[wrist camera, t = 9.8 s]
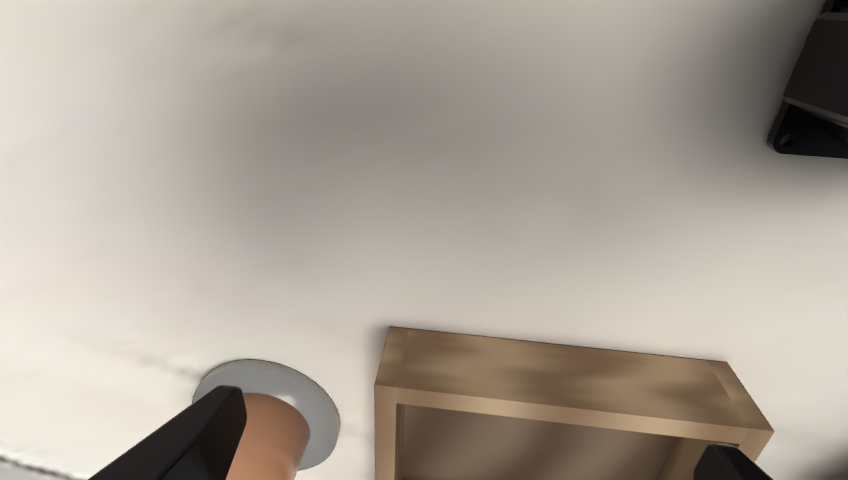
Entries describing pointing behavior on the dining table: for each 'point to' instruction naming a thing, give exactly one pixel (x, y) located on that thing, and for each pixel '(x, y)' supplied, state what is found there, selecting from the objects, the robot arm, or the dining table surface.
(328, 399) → the saucer
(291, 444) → the tan cylinder
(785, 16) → the dining table surface
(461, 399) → the box
